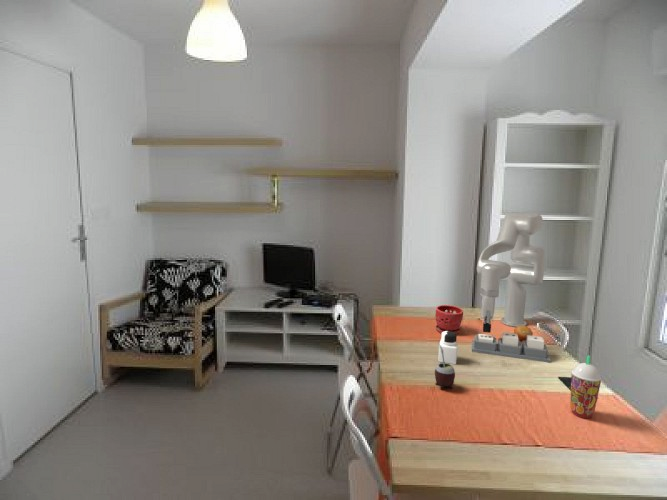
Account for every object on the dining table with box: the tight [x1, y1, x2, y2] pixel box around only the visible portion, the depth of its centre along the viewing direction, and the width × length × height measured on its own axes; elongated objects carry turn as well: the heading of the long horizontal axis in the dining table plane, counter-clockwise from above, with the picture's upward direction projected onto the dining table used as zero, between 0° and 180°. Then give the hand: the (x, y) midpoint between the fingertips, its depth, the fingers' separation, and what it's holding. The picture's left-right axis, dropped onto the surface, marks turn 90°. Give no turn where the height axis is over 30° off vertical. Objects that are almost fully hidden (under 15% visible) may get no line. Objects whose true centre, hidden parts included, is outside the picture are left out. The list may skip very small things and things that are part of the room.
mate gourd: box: [434, 341, 456, 391], centre depth 151 cm, size 8×8×15 cm
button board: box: [471, 334, 551, 363], centre depth 183 cm, size 11×31×4 cm, turn 71°
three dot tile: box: [478, 333, 494, 343], centre depth 186 cm, size 6×6×4 cm
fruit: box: [513, 325, 534, 343], centre depth 197 cm, size 8×8×8 cm
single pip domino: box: [526, 335, 545, 350], centre depth 179 cm, size 6×6×4 cm
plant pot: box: [435, 304, 464, 335], centre depth 206 cm, size 13×13×12 cm
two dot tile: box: [501, 331, 518, 346], centre depth 182 cm, size 6×6×4 cm
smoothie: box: [569, 355, 603, 419], centre depth 134 cm, size 8×8×20 cm
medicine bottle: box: [437, 331, 459, 365], centre depth 173 cm, size 7×7×12 cm
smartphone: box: [557, 376, 571, 392], centre depth 153 cm, size 7×1×15 cm
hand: (486, 331), depth 186 cm, fingers closed
